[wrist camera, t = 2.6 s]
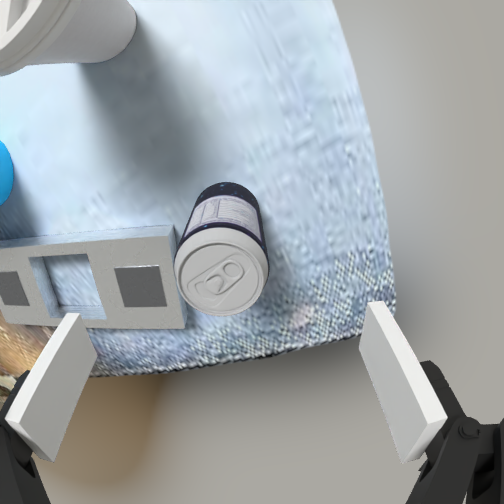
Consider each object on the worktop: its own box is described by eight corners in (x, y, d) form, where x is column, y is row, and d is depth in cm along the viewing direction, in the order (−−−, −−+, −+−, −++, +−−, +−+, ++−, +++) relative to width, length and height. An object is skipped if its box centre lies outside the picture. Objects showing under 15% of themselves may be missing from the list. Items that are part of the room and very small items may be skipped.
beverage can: (182, 210, 28) (149, 279, 18) (227, 166, 27) (219, 212, 16) (226, 251, 30) (220, 336, 20) (272, 211, 29) (292, 282, 18)
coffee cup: (126, 91, 23) (22, 91, 10) (44, 68, 21) (-75, 70, 8) (172, -6, 20) (112, -90, 6) (83, -22, 18) (-12, -75, 4)
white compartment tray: (15, 311, 33) (6, 323, 31) (-11, 241, 29) (-23, 251, 26) (187, 313, 33) (184, 329, 31) (173, 224, 29) (167, 236, 27)
